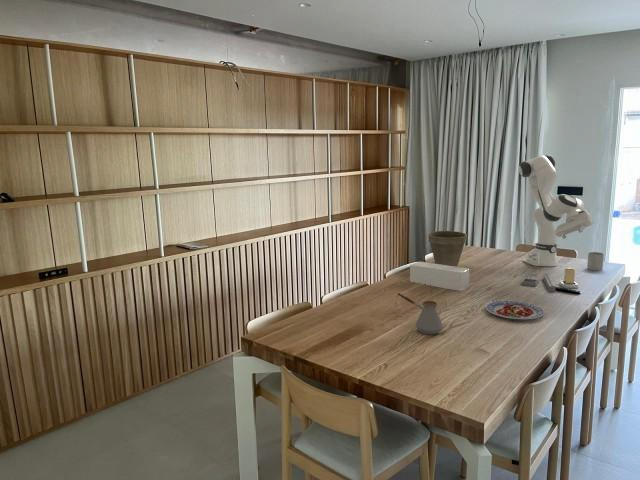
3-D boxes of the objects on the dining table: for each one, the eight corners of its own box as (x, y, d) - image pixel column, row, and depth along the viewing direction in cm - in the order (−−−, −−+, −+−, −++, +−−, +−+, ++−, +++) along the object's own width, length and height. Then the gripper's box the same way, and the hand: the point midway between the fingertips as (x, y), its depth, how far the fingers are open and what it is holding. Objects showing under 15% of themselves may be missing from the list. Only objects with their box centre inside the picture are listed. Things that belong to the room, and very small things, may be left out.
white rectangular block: (409, 282, 279) (410, 264, 277) (418, 278, 287) (418, 261, 285) (461, 291, 259) (461, 272, 257) (468, 286, 267) (469, 268, 265)
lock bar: (563, 285, 265) (564, 267, 263) (571, 285, 264) (572, 267, 262) (565, 287, 261) (567, 268, 259) (573, 287, 260) (574, 269, 258)
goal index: (524, 281, 274) (524, 278, 273) (538, 283, 269) (538, 279, 269) (521, 284, 267) (521, 281, 267) (535, 286, 263) (536, 283, 263)
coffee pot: (446, 329, 204) (447, 296, 202) (436, 338, 195) (437, 304, 192) (402, 320, 217) (402, 289, 214) (390, 328, 207) (390, 296, 205)
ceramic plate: (496, 301, 240) (496, 296, 240) (550, 311, 224) (550, 305, 224) (477, 315, 221) (477, 309, 220) (535, 327, 205) (535, 321, 204)
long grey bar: (543, 278, 278) (543, 273, 277) (548, 279, 277) (549, 273, 276) (549, 291, 254) (549, 285, 253) (555, 291, 253) (555, 285, 252)
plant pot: (465, 271, 300) (466, 237, 296) (426, 268, 308) (426, 236, 304) (466, 262, 324) (467, 231, 320) (430, 260, 332) (430, 230, 327)
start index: (559, 283, 267) (559, 280, 266) (573, 284, 265) (574, 281, 265) (563, 287, 260) (563, 284, 259) (578, 288, 258) (578, 284, 258)
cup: (598, 267, 301) (599, 252, 299) (604, 270, 293) (606, 254, 291) (584, 267, 302) (586, 252, 300) (590, 270, 294) (592, 255, 292)
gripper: (554, 222, 275) (551, 237, 266) (588, 208, 260) (586, 223, 251) (560, 230, 276) (557, 245, 267) (595, 216, 261) (593, 231, 252)
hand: (572, 234), depth 259 cm, fingers open, 8 cm apart
